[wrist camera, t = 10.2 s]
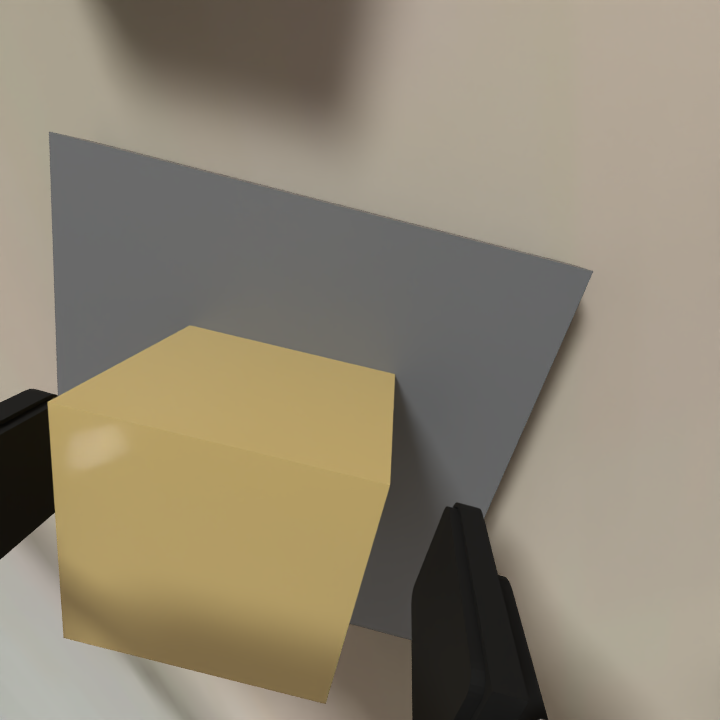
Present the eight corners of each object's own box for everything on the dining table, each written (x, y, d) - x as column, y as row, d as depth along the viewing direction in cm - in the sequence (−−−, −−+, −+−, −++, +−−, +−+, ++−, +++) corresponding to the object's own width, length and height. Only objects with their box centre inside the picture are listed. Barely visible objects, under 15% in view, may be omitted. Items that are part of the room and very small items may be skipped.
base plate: (569, 263, 12) (593, 271, 10) (425, 607, 16) (428, 644, 15) (91, 140, 12) (49, 131, 10) (91, 519, 17) (63, 547, 15)
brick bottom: (395, 374, 12) (390, 484, 7) (351, 535, 14) (325, 703, 9) (190, 324, 12) (47, 402, 7) (178, 493, 14) (63, 637, 9)
